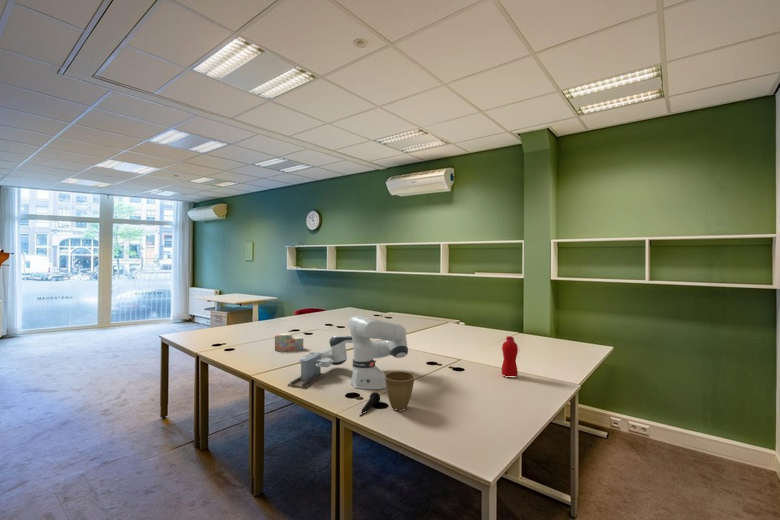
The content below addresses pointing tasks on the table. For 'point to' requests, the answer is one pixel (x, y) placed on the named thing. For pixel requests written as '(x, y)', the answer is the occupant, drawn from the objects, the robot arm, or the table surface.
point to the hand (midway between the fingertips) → (309, 365)
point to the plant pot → (399, 388)
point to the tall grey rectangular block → (309, 367)
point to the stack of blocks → (288, 342)
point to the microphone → (371, 401)
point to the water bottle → (509, 357)
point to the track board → (307, 383)
